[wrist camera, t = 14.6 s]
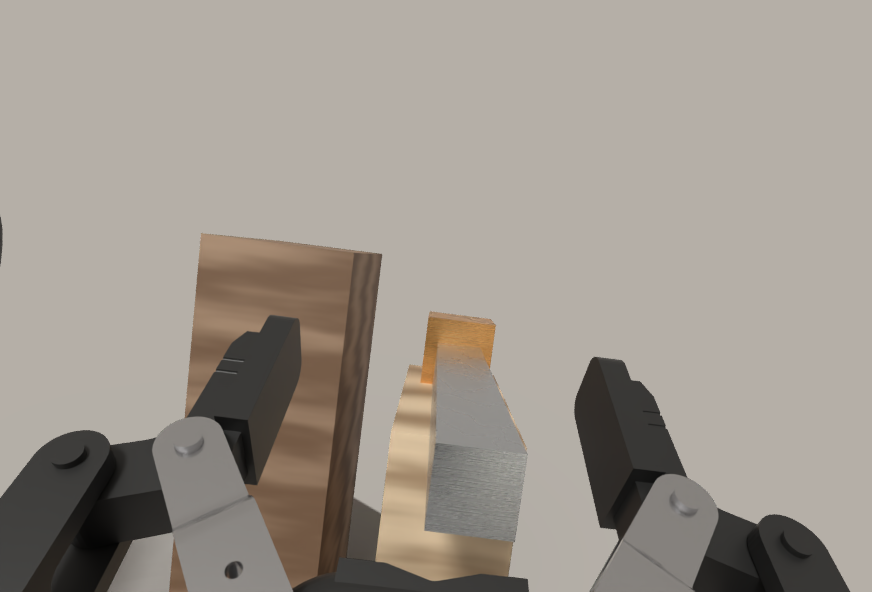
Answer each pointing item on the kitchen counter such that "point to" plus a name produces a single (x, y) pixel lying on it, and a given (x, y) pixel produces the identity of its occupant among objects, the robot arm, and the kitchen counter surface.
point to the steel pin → (469, 434)
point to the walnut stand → (316, 389)
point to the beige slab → (407, 502)
